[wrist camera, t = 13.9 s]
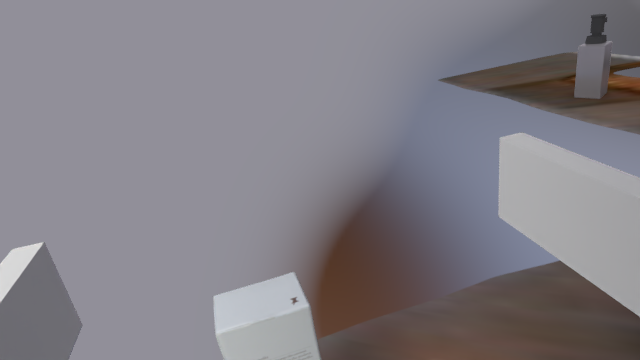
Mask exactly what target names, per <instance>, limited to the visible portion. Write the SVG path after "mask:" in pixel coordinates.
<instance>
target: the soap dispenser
mask: <svg viewBox="0 0 640 360" xmlns="http://www.w3.org/2000/svg"><path fill="white" fill-rule="evenodd" d="M605 17H606V14H599V15H592V16H591V18H592V22H591V33H592V35H591V36H587V39H586V42H585V43H584V44H582V45H580V46H579V47H578V58H577V70H576V82H575V94H574V97H577V98H597V99H600V98H601V97H602V96H603V95H605V94H606V93H607V86H608V77H609V68H610V60H611V50H612V41H606V35H601V33H602V32H604V23H605V22H607V17H606V18H605Z"/></svg>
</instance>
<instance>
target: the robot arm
mask: <svg viewBox="0 0 640 360" xmlns="http://www.w3.org/2000/svg"><path fill="white" fill-rule="evenodd" d="M499 159H500V160H499V161H500V162H499V217H500V218H501V219H503V220H504V221H506V222H507V223H508V224H510V225H511V226H513V227H514V228H515V229H517V230H518V231H520V232H521V233H522V234H524V235H525V236H527V237H528V238H530V239H531V240H533V241H534V242H535V243H537V244H538V245H539V246H541V247H542V248H544V249H545V250H547V251H548V252H550V253H551V254H552V255H554V256H555V257H556V258H558V259H559V260H561V261H562V262H563V263H565V264H566V265H568V266H569V267H570V268H572V269H573V270H575V271H576V272H577V273H579V274H580V275H582V276H583V277H584V278H586V279H587V280H589V281H590V282H592V283H593V284H594V285H596V286H597V287H599V288H600V289H601V290H603V291H604V292H606V293H607V294H608V295H610V296H611V297H613V298H614V299H615V300H617V301H618V302H620V303H621V304H623V305H624V306H625V307H627V308H628V309H630V310H631V311H632V312H634V313H635V314H637V315H638V316H639V317H640V178H639V177H636V176H634V175H631V174H629V173H626V172H623V171H621V170H618V169H616V168H613V167H610V166H608V165H605V164H603V163H600V162H597V161H594V160H592V159H590V158H587V157H584V156H582V155H579V154H577V153H574V152H571V151H569V150H566V149H564V148H561V147H559V146H556V145H553V144H551V143H548V142H545V141H543V140H540V139H538V138H535V137H533V136H530V135H527V134H525V133H517V134H513V135H509V136H504V137H500V158H499ZM81 328H82V323H81V321H80V318H79V316H78V314H77V312H76V310H75V308H74V306H73V303H72V301H71V299H70V297H69V295H68V292H67V290H66V288H65V286H64V284H63V282H62V279H61V277H60V275H59V273H58V271H57V269H56V266H55V264H54V262H53V260H52V258H51V256H50V253H49V251H48V249H47V247H46V245H45V242H42V243H38V244H33V245H29V246H25V247H20V248H16V249H13V250H11V252H10V253H9V254H8V255H7V257H6V258H5V259H4V260H3V261H2V263H1V264H0V360H68V359H69V357H70V355H71V352H72V350H73V347H74V345H75V342H76V340H77V337H78V335H79V333H80V330H81Z"/></svg>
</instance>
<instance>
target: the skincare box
mask: <svg viewBox="0 0 640 360" xmlns="http://www.w3.org/2000/svg"><path fill="white" fill-rule="evenodd" d="M213 299H214V321H215V334H216V338H217V341H218V344H219V347H220V350H221V353H222V356H223V358H224V360H321V356H320V352H319V347H318V342H317V338H316V333H315V328H314V324H313V318H312V313H311V307H310V304H309V302H308V300H307V298H306V296H305V293H304V291H303V289H302V287H301V285H300V282H299V280H298V278H297V275H296V274H295V272H291V273H288V274H285V275H282V276H279V277H276V278H273V279H269V280H266V281H263V282H259V283H256V284H252V285H249V286H246V287H243V288H239V289H235V290H232V291H229V292H225V293H222V294H219V295H215V296H214V297H213Z"/></svg>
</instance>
